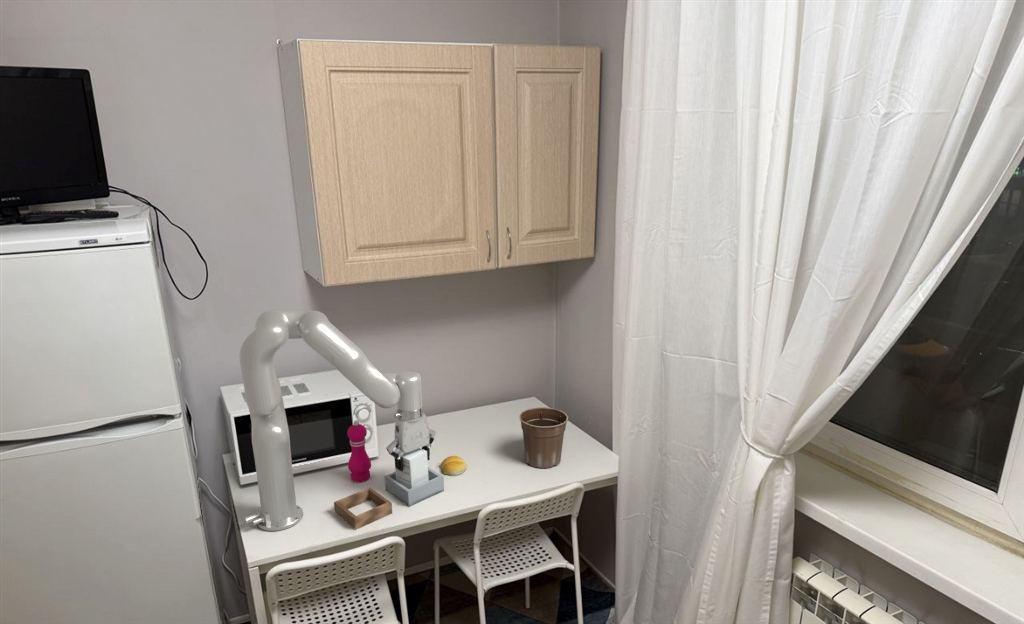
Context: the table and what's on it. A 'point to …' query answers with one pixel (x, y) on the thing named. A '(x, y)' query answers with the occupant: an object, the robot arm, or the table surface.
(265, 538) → the table surface
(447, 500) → the table surface
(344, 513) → the walnut frame
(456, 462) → the bread roll
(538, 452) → the plant pot
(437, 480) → the grey bin
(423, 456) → the supplement box
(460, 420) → the table surface
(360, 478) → the pepper mill
